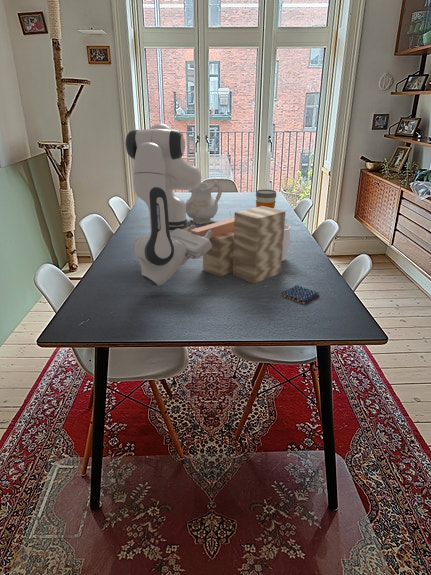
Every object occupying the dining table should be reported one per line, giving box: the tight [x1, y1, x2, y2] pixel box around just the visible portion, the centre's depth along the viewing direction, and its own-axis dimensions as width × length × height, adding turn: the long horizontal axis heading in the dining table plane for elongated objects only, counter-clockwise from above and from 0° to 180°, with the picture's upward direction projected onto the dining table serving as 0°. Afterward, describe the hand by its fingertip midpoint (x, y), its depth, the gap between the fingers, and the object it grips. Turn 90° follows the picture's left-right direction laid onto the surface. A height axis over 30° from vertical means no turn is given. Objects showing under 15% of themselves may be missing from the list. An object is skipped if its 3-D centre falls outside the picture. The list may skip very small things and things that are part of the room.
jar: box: [282, 224, 292, 262], centre depth 179 cm, size 11×10×15 cm
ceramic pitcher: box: [185, 179, 223, 225], centre depth 233 cm, size 22×20×25 cm
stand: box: [232, 206, 287, 284], centre depth 161 cm, size 16×12×26 cm
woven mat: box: [281, 284, 320, 305], centre depth 148 cm, size 10×11×2 cm
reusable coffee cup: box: [255, 189, 277, 209], centre depth 248 cm, size 13×13×15 cm
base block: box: [202, 231, 234, 277], centre depth 167 cm, size 12×10×16 cm
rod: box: [190, 217, 234, 239], centre depth 163 cm, size 28×4×4 cm, turn 136°
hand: (202, 228), depth 156 cm, fingers open, 8 cm apart
